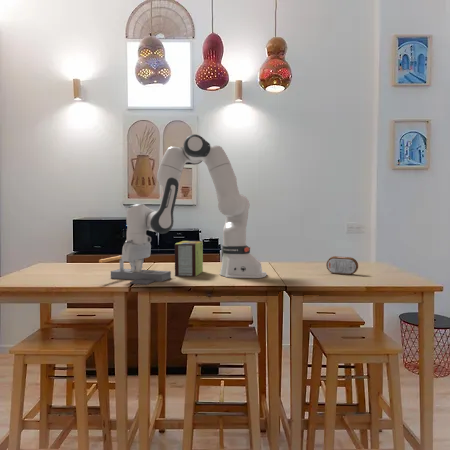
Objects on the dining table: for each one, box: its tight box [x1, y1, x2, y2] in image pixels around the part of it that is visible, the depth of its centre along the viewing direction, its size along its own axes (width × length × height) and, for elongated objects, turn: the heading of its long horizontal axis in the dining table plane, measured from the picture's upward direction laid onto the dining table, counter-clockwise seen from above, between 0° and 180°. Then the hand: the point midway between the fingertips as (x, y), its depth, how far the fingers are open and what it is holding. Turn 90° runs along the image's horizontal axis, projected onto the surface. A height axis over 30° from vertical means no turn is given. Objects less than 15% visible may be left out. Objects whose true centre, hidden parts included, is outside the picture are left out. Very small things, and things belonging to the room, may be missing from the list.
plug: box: [132, 260, 143, 272], centre depth 200 cm, size 4×4×8 cm
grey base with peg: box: [110, 259, 172, 283], centre depth 199 cm, size 26×9×9 cm, turn 72°
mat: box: [129, 279, 156, 286], centre depth 189 cm, size 8×8×1 cm
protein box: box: [174, 240, 204, 277], centre depth 212 cm, size 10×15×16 cm
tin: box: [326, 255, 359, 276], centre depth 212 cm, size 15×3×8 cm, turn 65°
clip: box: [98, 254, 122, 264], centre depth 195 cm, size 18×3×1 cm, turn 160°
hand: (136, 269), depth 200 cm, fingers closed on plug, 4 cm apart
